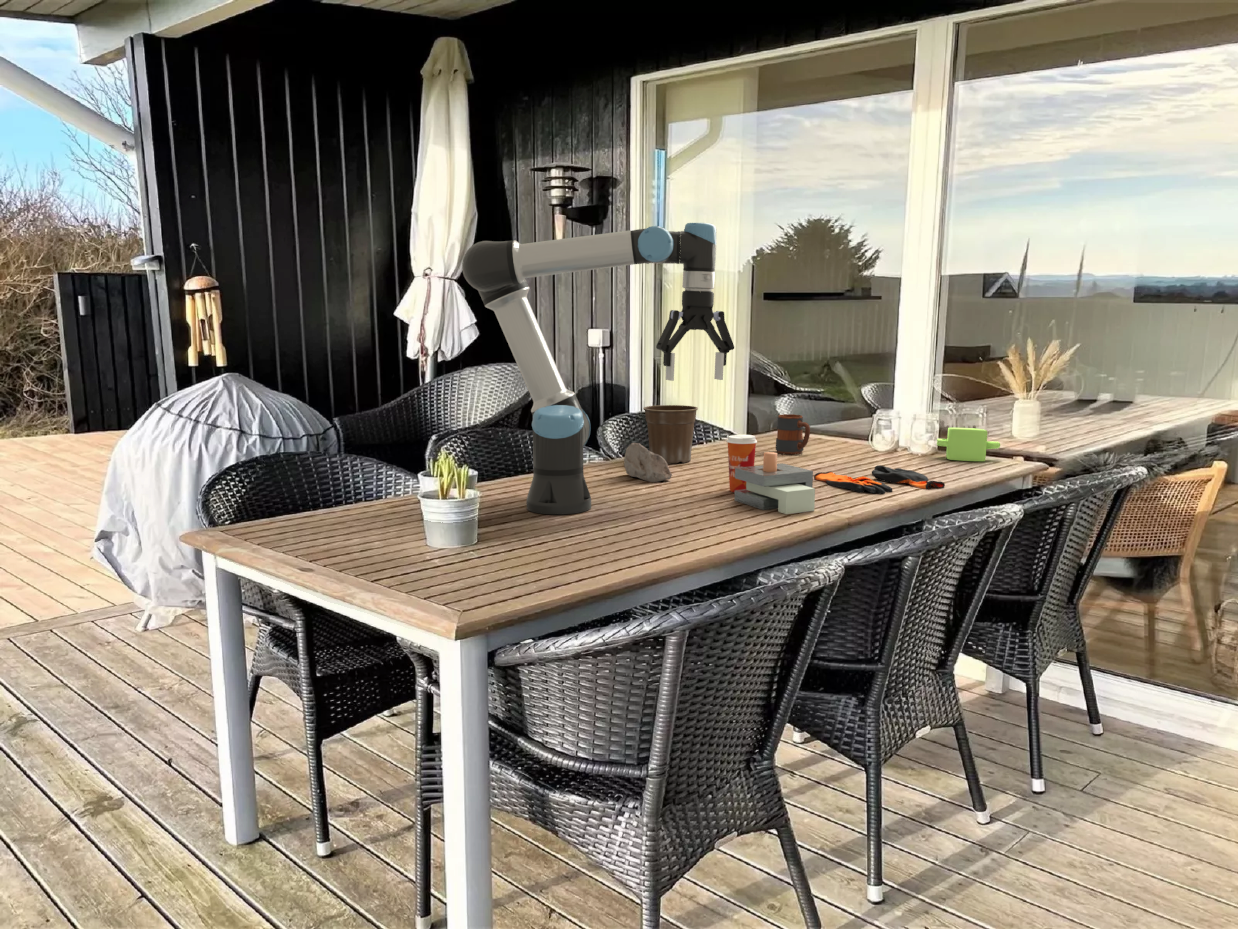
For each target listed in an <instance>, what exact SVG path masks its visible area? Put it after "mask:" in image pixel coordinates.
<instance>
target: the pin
mask: <svg viewBox="0 0 1238 929" xmlns="http://www.w3.org/2000/svg"><path fill="white" fill-rule="evenodd" d="M777 464H778V453H777V452H773V451H772V452H771V451H767V452H766V451H765V452H763V471H766V472H774V471H777Z"/></svg>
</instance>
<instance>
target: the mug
mask: <svg viewBox="0 0 1238 929" xmlns="http://www.w3.org/2000/svg"><path fill="white" fill-rule="evenodd" d="M776 423H777V424H776V429H777V434H776V440H775V451H776V453H777V454H781V455H793V456H794V455H801V454H803V451H804V448H805V447H806V446H807V444H808V443H809V440H810V435H811V426H810V425H809V423H807V422H804V417H803V415H800V414H791V413H790V414H789V413H787V414H786V413H785V414H783V413H782V414H779V415H778V416H777V422H776ZM804 428H805V429H804ZM803 429H804V430H805V431H804V433H803ZM803 434H804V436H803Z"/></svg>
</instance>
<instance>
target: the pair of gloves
mask: <svg viewBox="0 0 1238 929" xmlns="http://www.w3.org/2000/svg"><path fill="white" fill-rule="evenodd" d="M871 475H873V477H874V478H875V479H876V480H878V481H876V480H873V479H871V478H869V477H867V476H859V477H856V478H853V477H851V476H848V475H847V474H846V475H842V474H841V475H840V474H836V473H834V472H833V471H826V472H823V471H822V472H820V471H819V472H816V473H815V474H813V480H817V481H821V482H826V483H827V485H830V486H832V487H837V488H841V489H846V490H851V491H853V492H856V493H858V494H859V493H864V492H865V491H867V492H869V493H871V494H878V495H885V494H886V493H892V492H893V488H892V486H889V485H887V484H885V482H886V483H887V482H888V483H892V484H907V485H910V486H911V487H914V488H918V489H925V490H931V489H932V488H935V489H943V488H944V487H945V482H943V481H941V480H940V481H936V480H929V478H928V476H926V475H925V474H923V473H920V472H917V471H915V470H911V469H903V468H900V467H897V468H891V467H888V466H885V465H881V464H880V465H879V464H878V465H876V466H874V469H873V470H871Z"/></svg>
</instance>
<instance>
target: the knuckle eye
mask: <svg viewBox="0 0 1238 929" xmlns="http://www.w3.org/2000/svg"><path fill="white" fill-rule="evenodd" d="M746 490H748V491H752V492H755V493H758V494H761V495H765V496H768V497H771V498H774V499H778V508H777V511H778V512H777V513H780V514H781V513H782V514H784V515H789V514H798V513H805V512H806V513H807V512H814V511H815V502H816V501H815V498H816V488H814V487H812V488H811V487H808V486H804V485H800V484H797V483H793V484H784V485H775V486H766V487H763V486H760V485H756V484H753V483H749V482H746Z"/></svg>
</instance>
